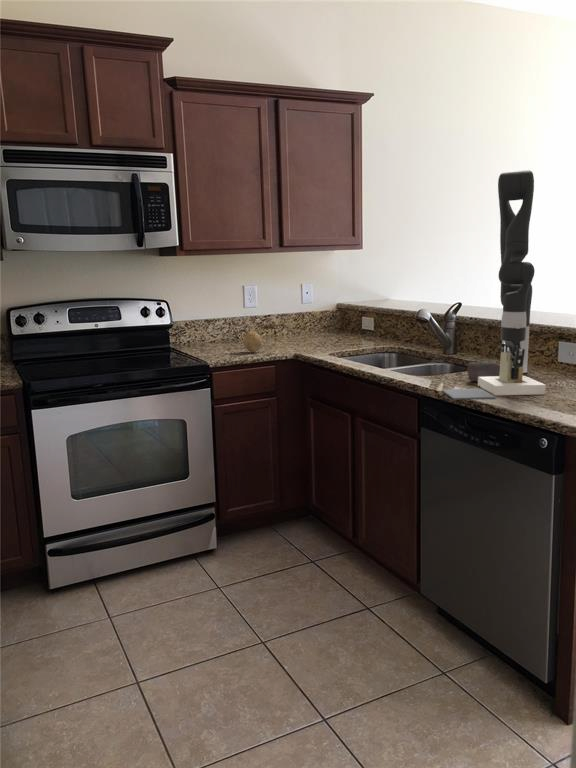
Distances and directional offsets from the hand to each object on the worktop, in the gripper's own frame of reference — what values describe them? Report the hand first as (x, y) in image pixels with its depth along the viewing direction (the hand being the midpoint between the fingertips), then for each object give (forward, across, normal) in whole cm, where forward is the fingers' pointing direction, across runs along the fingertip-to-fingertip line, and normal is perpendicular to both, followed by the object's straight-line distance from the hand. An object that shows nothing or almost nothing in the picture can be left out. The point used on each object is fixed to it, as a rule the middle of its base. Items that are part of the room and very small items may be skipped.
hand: (510, 377), depth 211 cm
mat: (+4, +6, -16) cm, 18 cm away
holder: (+4, 0, 0) cm, 4 cm away
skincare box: (+4, 0, 0) cm, 4 cm away
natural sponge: (+4, -96, -84) cm, 128 cm away
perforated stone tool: (+4, -16, -3) cm, 17 cm away
